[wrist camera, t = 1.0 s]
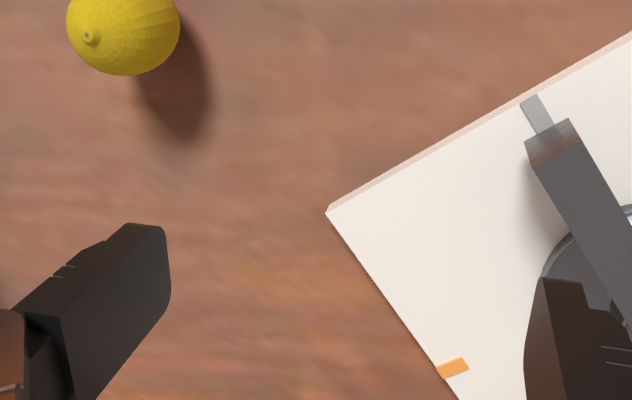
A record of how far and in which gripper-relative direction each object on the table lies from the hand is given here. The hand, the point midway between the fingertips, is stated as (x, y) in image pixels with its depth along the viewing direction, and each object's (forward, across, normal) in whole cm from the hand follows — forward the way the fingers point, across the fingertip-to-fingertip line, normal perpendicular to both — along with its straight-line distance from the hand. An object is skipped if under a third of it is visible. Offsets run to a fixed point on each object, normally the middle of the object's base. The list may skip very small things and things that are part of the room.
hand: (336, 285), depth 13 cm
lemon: (+24, +16, -2) cm, 30 cm away
